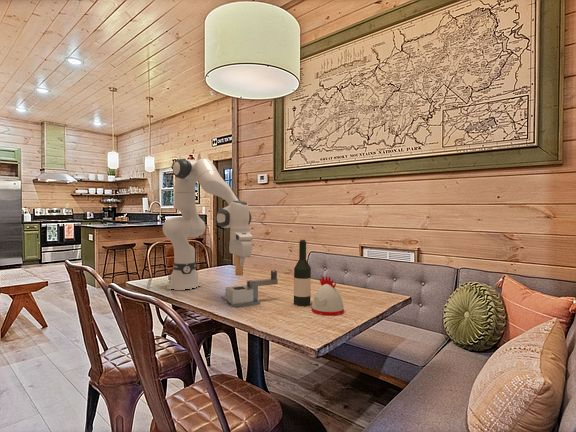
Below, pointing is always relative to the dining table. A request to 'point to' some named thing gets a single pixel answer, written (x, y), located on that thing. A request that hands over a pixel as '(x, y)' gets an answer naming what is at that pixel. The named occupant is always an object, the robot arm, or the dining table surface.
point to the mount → (242, 295)
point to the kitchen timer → (327, 299)
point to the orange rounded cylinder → (238, 267)
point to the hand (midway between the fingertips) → (239, 265)
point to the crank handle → (267, 280)
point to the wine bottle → (302, 278)
